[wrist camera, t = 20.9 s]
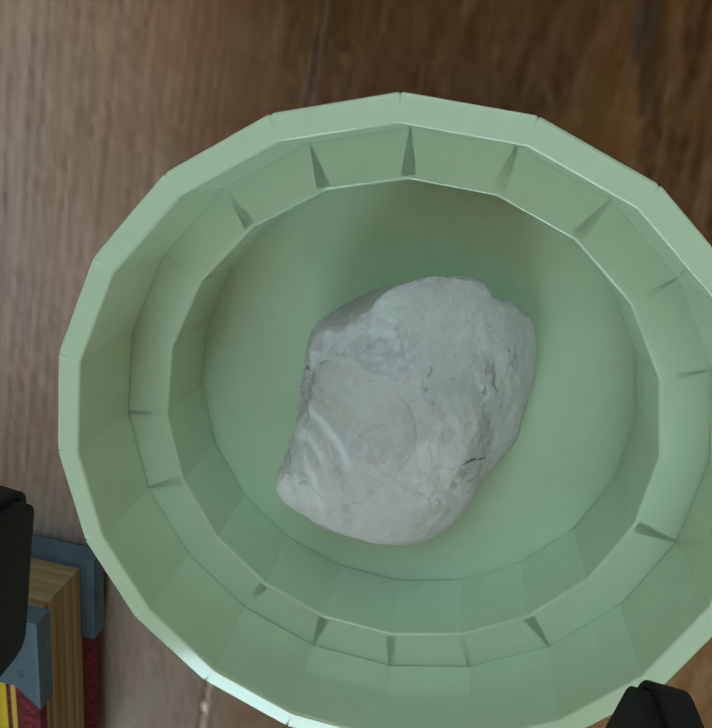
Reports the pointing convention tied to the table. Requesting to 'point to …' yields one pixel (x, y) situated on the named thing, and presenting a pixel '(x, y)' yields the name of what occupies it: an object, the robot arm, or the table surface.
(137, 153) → the table surface
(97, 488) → the bowl
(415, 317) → the grey stone
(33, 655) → the decorative book
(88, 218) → the table surface
